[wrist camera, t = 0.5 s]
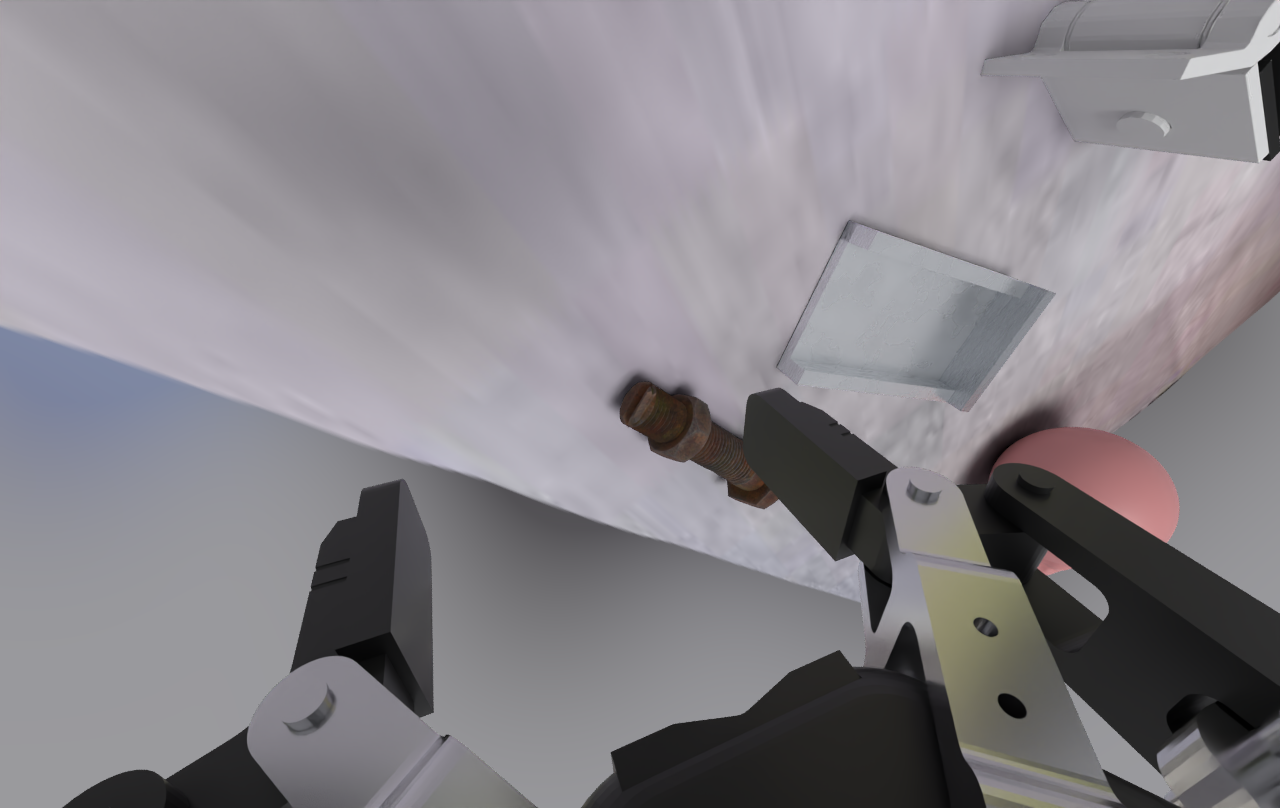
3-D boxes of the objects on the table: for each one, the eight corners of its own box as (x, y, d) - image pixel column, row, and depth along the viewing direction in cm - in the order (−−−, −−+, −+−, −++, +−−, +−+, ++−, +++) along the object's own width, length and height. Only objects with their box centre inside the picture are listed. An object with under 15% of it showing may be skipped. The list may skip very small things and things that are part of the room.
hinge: (975, 74, 29) (1178, 76, 21) (1036, -37, 26) (1289, -81, 19) (1081, 149, 35) (1267, 172, 28) (1138, 65, 33) (1358, 64, 25)
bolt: (622, 364, 34) (746, 443, 42) (593, 430, 33) (726, 497, 41) (676, 366, 29) (803, 455, 38) (644, 443, 28) (782, 515, 37)
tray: (849, 220, 31) (895, 237, 28) (1007, 275, 40) (1056, 293, 37) (776, 367, 36) (809, 395, 33) (931, 388, 45) (968, 411, 42)
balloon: (908, 518, 59) (1031, 632, 47) (1035, 385, 52) (1215, 479, 40) (963, 531, 67) (1078, 630, 55) (1078, 418, 60) (1237, 504, 48)
